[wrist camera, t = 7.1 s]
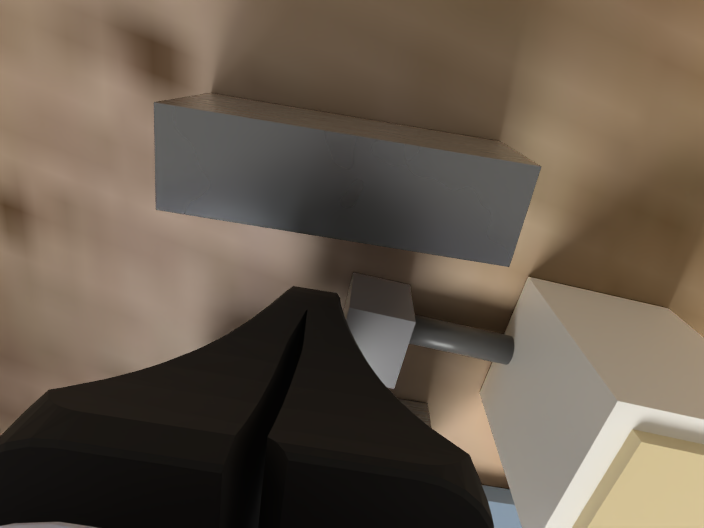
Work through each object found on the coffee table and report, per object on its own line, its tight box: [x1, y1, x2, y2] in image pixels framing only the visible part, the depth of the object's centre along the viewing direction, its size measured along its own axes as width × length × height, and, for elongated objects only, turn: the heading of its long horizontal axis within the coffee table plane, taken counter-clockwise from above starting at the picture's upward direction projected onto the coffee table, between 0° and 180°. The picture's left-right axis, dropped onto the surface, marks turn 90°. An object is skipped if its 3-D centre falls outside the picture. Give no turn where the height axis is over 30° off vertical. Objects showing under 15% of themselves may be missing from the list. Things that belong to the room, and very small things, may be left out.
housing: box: [154, 93, 541, 428], centre depth 12 cm, size 7×10×3 cm
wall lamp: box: [343, 272, 704, 528], centre depth 11 cm, size 9×4×5 cm, turn 77°
